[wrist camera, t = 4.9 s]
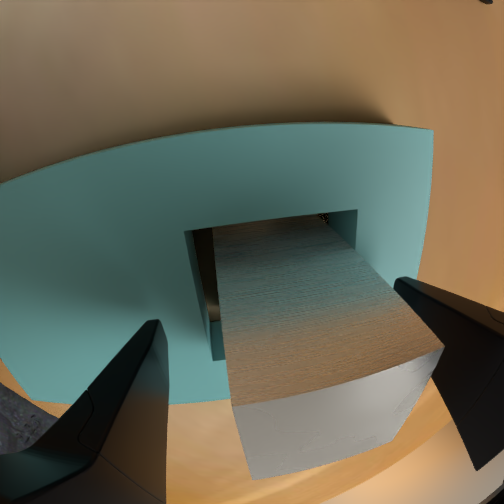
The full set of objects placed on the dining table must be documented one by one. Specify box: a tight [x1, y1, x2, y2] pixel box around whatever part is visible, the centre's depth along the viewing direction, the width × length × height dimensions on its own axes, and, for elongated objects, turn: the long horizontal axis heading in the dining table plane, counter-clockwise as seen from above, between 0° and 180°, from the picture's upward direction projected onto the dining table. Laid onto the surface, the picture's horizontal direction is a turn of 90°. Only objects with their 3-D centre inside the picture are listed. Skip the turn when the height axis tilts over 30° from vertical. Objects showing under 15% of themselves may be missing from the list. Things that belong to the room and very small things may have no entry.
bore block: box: [0, 122, 433, 405], centre depth 11 cm, size 20×11×2 cm, turn 95°
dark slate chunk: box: [0, 382, 59, 455], centre depth 14 cm, size 15×22×5 cm
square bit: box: [212, 214, 445, 480], centre depth 9 cm, size 4×4×8 cm
